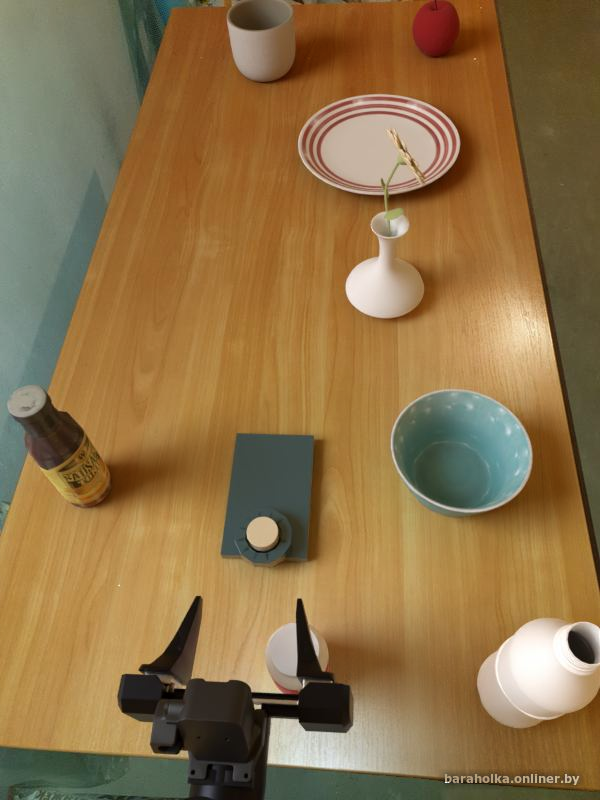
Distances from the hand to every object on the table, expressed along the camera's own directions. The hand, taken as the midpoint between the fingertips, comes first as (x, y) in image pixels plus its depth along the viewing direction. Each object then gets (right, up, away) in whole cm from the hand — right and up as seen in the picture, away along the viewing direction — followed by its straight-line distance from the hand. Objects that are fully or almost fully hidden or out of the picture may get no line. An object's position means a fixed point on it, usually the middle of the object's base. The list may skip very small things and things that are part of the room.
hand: (249, 598), depth 57 cm
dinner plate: (+18, +60, +54) cm, 83 cm away
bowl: (+23, +8, +22) cm, 33 cm away
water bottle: (+26, -12, +9) cm, 30 cm away
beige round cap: (0, +2, +16) cm, 16 cm away
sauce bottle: (-22, +7, +24) cm, 33 cm away
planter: (-2, +83, +69) cm, 108 cm away
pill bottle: (+5, -11, +11) cm, 16 cm away
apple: (+31, +87, +70) cm, 116 cm away
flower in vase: (+17, +34, +38) cm, 54 cm away
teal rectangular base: (+1, +6, +21) cm, 22 cm away
